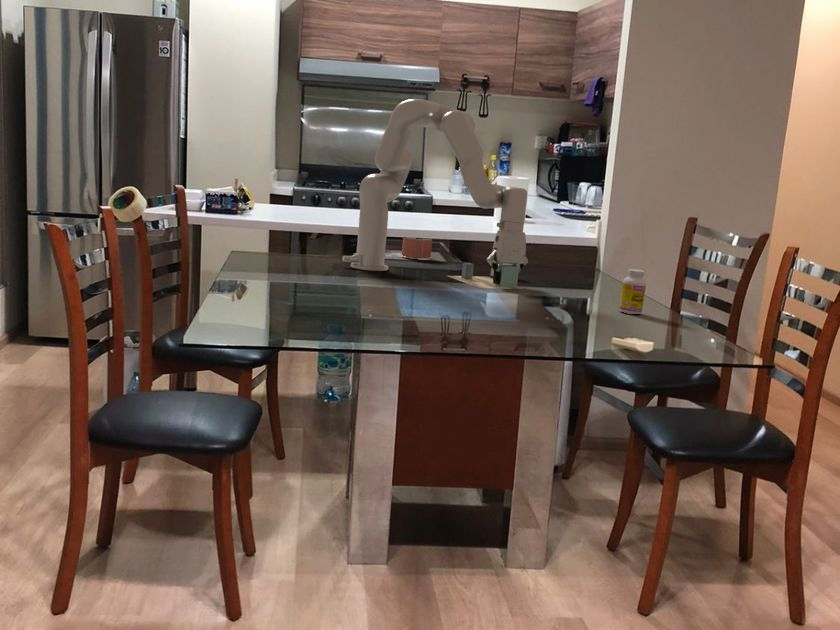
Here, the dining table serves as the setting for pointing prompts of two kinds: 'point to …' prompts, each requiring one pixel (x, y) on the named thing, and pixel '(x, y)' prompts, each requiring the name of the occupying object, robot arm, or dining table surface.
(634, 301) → the supplement bottle
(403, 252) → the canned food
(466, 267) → the post
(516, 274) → the sage green cube
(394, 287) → the dining table surface
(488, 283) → the board
